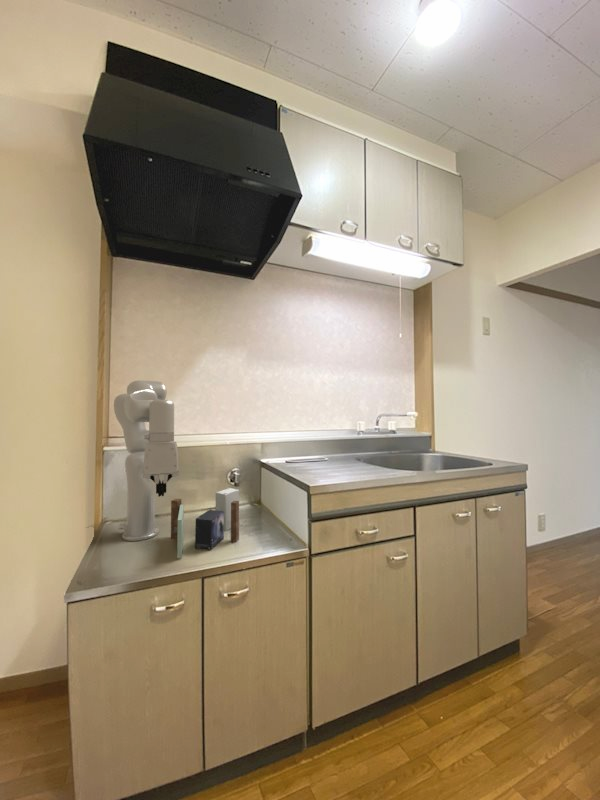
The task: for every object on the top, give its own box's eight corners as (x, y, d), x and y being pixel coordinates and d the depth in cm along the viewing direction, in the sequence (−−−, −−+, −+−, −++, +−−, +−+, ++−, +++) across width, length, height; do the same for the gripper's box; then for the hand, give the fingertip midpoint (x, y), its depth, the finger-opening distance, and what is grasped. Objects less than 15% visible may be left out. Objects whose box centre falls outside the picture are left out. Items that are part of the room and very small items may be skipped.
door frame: (170, 539, 121) (171, 500, 121) (174, 536, 124) (175, 498, 124) (236, 542, 118) (236, 503, 118) (238, 539, 121) (238, 500, 121)
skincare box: (229, 522, 138) (229, 487, 139) (240, 525, 135) (240, 489, 136) (214, 528, 131) (214, 491, 132) (225, 531, 128) (225, 493, 129)
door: (176, 536, 122) (176, 504, 122) (183, 535, 123) (183, 503, 123) (172, 558, 104) (172, 520, 104) (181, 557, 105) (181, 519, 105)
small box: (211, 551, 111) (211, 519, 111) (194, 549, 112) (194, 518, 112) (224, 538, 121) (225, 510, 122) (208, 537, 123) (208, 509, 123)
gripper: (134, 439, 100) (133, 500, 99) (186, 438, 105) (185, 496, 104) (137, 438, 107) (137, 494, 106) (186, 436, 112) (185, 490, 111)
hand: (161, 495), depth 105 cm, fingers closed
